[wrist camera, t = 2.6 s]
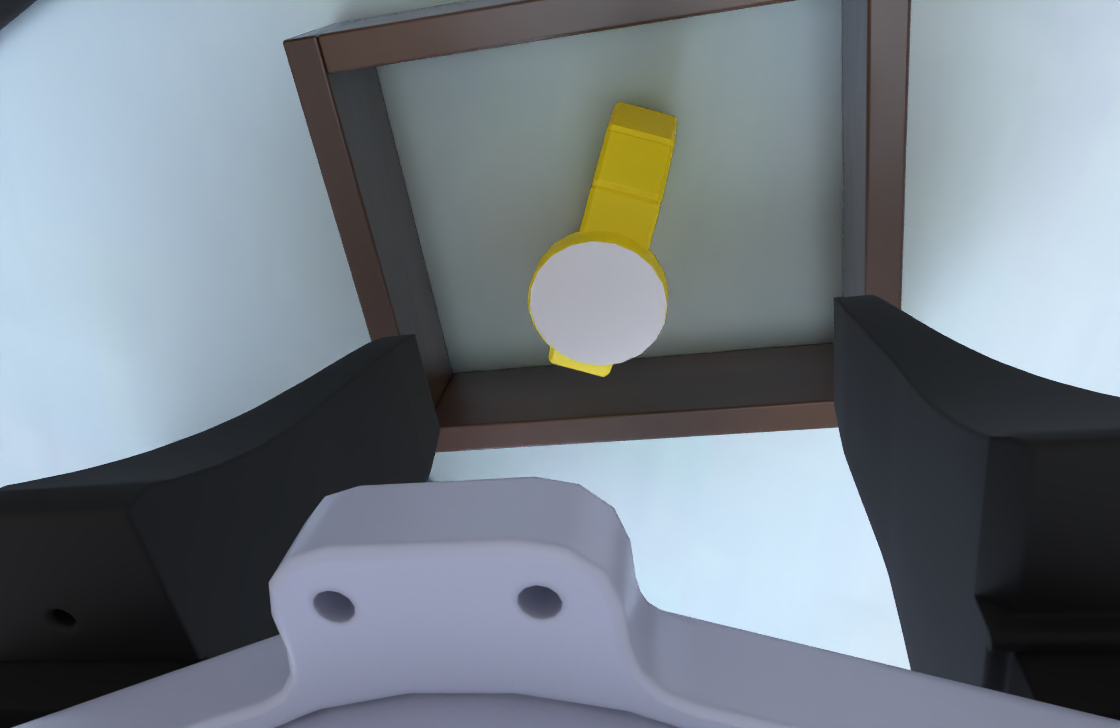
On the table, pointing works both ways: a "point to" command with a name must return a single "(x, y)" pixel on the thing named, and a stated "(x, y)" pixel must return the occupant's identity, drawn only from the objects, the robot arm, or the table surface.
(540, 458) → the table surface
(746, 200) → the table surface
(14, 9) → the device stand
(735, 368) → the desk tidy
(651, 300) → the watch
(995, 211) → the table surface
